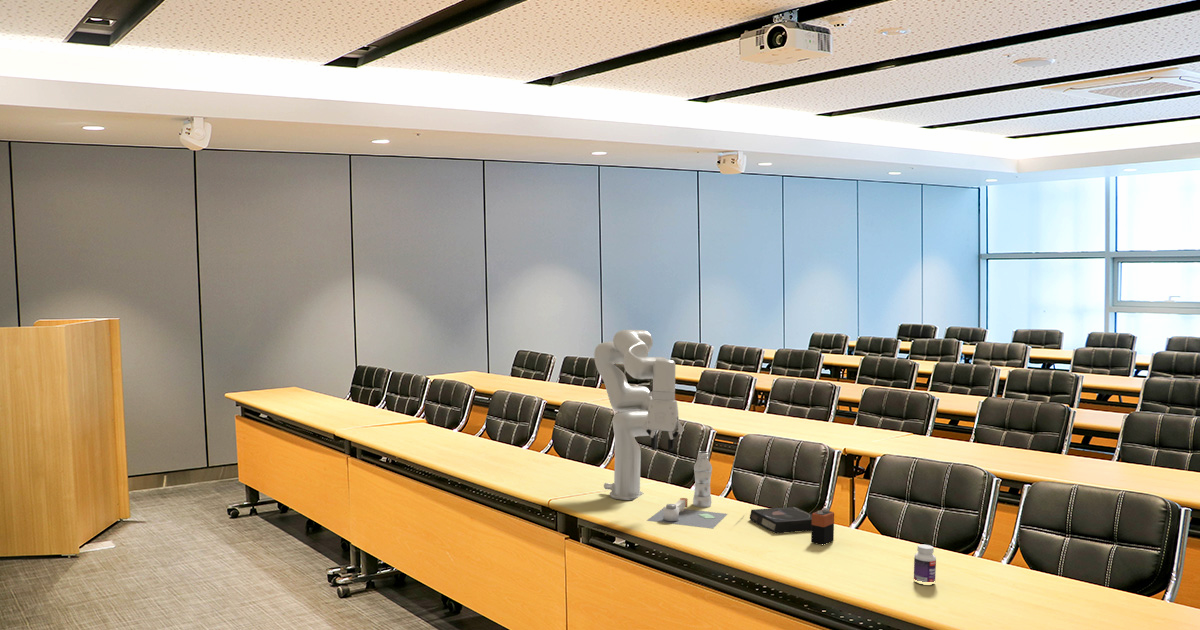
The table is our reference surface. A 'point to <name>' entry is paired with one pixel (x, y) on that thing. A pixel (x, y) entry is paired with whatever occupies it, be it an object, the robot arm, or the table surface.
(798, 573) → the table surface
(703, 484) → the plastic bottle
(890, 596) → the table surface
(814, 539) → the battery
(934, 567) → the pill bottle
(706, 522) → the dial board
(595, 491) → the table surface
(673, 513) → the white bar with knob
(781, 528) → the flat black box
